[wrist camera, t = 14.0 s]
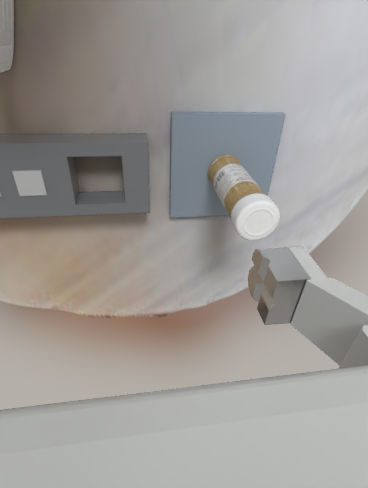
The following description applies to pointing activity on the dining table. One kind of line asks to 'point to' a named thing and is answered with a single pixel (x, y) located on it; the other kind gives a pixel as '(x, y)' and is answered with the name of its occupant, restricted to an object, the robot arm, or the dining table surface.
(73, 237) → the dining table surface
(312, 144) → the dining table surface
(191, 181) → the rubber mat
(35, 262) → the dining table surface
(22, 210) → the power strip
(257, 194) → the sprinkles bottle
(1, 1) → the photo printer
